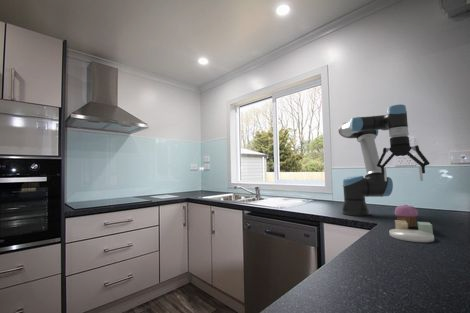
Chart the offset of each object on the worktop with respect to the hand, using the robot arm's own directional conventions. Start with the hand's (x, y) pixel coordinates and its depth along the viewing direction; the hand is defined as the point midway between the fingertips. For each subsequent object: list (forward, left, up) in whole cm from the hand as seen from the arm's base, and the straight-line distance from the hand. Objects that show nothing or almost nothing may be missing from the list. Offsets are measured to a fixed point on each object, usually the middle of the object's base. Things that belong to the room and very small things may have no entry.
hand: (403, 181), depth 107 cm
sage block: (+10, +5, -21) cm, 24 cm away
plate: (+20, -1, -21) cm, 29 cm away
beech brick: (+10, -3, -21) cm, 24 cm away
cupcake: (0, 0, -22) cm, 22 cm away
